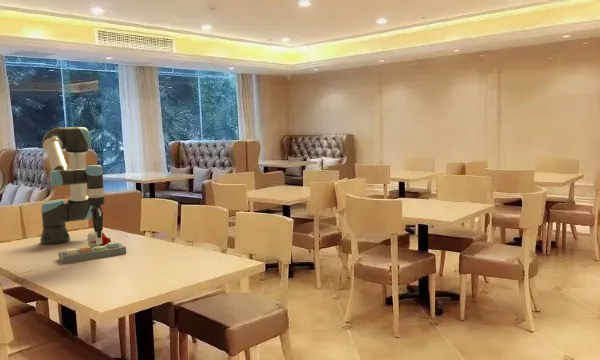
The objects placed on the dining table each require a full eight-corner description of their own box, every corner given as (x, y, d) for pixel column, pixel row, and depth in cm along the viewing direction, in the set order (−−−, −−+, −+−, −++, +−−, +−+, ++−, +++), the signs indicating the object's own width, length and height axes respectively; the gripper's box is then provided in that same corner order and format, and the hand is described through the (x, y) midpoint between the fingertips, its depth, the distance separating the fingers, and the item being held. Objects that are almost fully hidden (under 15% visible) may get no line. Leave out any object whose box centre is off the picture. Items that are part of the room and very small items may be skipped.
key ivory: (65, 254, 244) (65, 249, 244) (75, 253, 247) (75, 247, 246) (67, 256, 241) (67, 250, 240) (77, 254, 243) (77, 249, 243)
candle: (89, 244, 275) (116, 247, 274) (78, 248, 264) (106, 252, 263) (90, 227, 274) (116, 230, 273) (79, 231, 263) (107, 235, 262)
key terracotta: (80, 252, 248) (79, 247, 248) (89, 250, 250) (89, 245, 250) (82, 254, 244) (81, 248, 244) (91, 252, 247) (91, 247, 247)
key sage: (94, 252, 252) (93, 247, 252) (103, 250, 254) (102, 245, 254) (96, 253, 248) (96, 248, 248) (105, 252, 251) (105, 247, 251)
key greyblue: (107, 248, 255) (107, 243, 255) (116, 246, 258) (116, 241, 258) (109, 249, 252) (109, 244, 252) (118, 248, 254) (118, 243, 254)
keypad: (58, 259, 246) (58, 252, 245) (119, 249, 262) (119, 243, 262) (63, 263, 237) (63, 256, 236) (126, 253, 253) (126, 247, 253)
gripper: (84, 196, 252) (87, 242, 254) (91, 198, 241) (94, 247, 244) (100, 194, 256) (103, 240, 259) (107, 197, 246) (110, 245, 248)
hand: (99, 243), depth 251 cm, fingers closed
